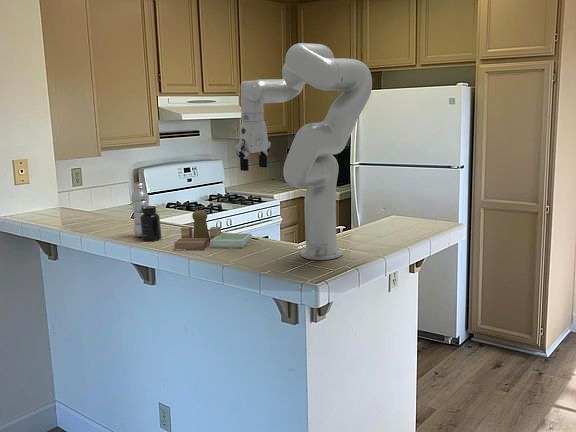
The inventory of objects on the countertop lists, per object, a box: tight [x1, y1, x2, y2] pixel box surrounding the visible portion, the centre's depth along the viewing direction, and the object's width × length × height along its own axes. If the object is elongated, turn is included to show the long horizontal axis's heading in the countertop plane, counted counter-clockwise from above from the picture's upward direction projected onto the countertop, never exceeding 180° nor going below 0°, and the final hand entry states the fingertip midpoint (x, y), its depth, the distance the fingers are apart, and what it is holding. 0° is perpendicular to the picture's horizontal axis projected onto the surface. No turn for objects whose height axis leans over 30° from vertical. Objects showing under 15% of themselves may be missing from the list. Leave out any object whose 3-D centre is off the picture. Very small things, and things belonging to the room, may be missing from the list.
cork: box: [191, 209, 210, 243], centre depth 199 cm, size 6×6×11 cm
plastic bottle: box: [130, 182, 150, 238], centre depth 210 cm, size 6×7×20 cm
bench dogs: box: [180, 226, 222, 240], centre depth 199 cm, size 3×14×5 cm, turn 77°
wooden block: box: [173, 237, 210, 251], centre depth 191 cm, size 6×10×3 cm, turn 82°
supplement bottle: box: [140, 205, 162, 242], centre depth 205 cm, size 7×7×12 cm
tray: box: [209, 232, 253, 249], centre depth 194 cm, size 11×11×2 cm
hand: (254, 168), depth 195 cm, fingers open, 9 cm apart
